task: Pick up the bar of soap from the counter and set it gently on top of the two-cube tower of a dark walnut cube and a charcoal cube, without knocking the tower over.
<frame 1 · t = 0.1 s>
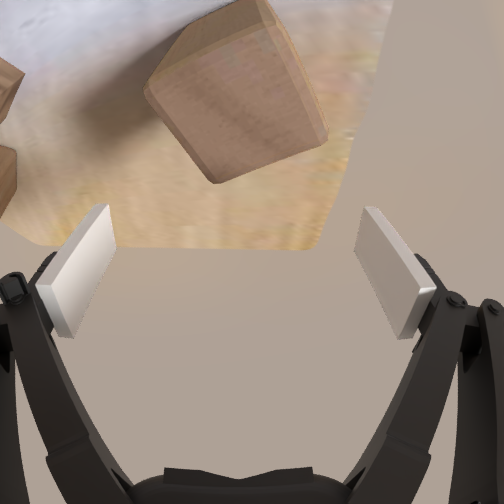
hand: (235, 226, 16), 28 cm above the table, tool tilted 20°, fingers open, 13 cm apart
wooden block: (240, 40, 32), on the table
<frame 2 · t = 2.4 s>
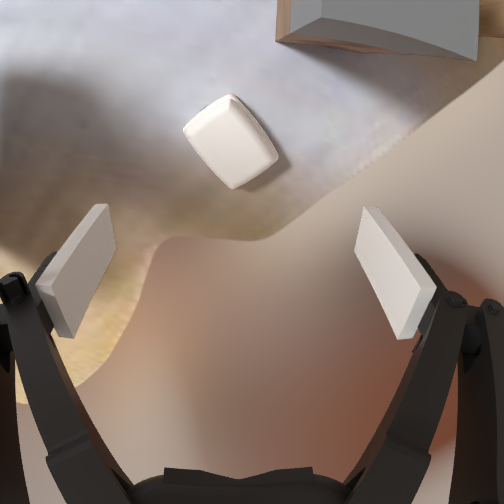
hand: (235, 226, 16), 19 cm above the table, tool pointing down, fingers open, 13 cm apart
walnut base cube: (323, 6, 24), on the table, touching charcoal top cube
soap: (231, 140, 32), on the table
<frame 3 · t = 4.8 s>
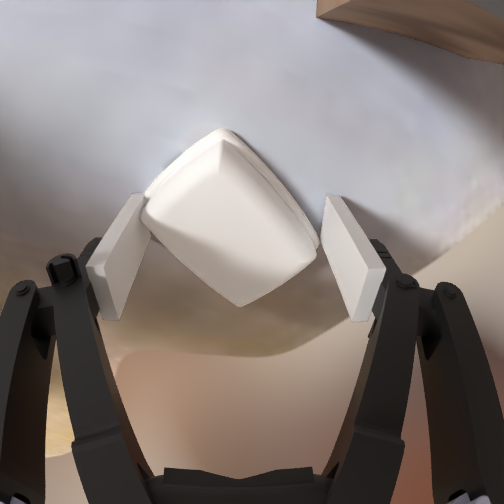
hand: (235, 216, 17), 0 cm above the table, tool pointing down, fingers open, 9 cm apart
soap: (231, 215, 18), on the table, touching gripper
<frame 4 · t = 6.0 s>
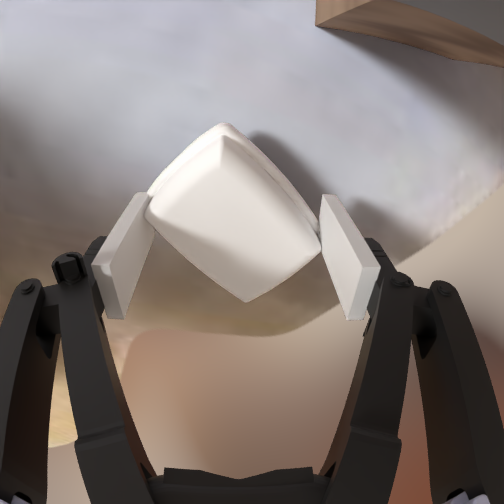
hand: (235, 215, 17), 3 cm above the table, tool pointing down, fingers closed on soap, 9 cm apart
soap: (235, 211, 18), point 2 cm above the table, touching gripper
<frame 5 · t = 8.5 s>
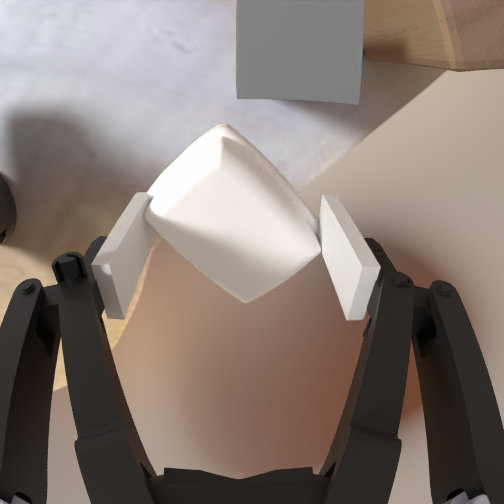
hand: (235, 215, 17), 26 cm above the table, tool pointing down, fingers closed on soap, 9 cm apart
soap: (234, 212, 18), point 25 cm above the table, touching gripper
charcoal top cube: (283, 46, 26), point 9 cm above the table, touching walnut base cube
block: (386, 22, 31), on the table
when the fingers open (20 cm above the table, at t = 11.3 s): soap drops 1 cm, resting on charcoal top cube.
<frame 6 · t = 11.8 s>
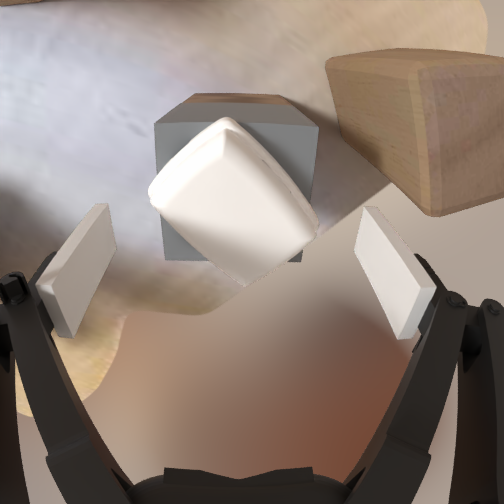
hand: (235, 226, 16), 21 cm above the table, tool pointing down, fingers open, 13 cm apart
walnut base cube: (235, 132, 34), on the table, touching charcoal top cube
soap: (235, 200, 19), point 18 cm above the table, touching charcoal top cube
charcoal top cube: (235, 154, 26), point 9 cm above the table, touching soap, walnut base cube
block: (371, 93, 31), on the table
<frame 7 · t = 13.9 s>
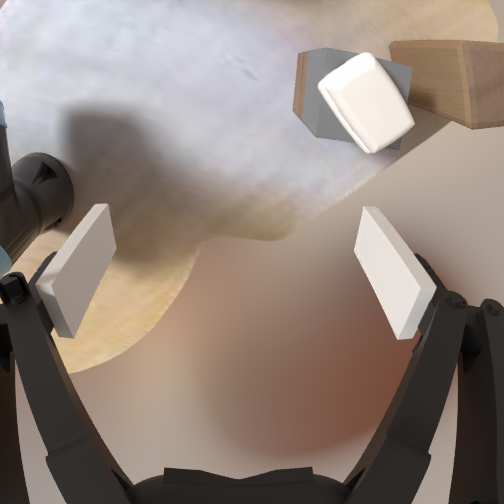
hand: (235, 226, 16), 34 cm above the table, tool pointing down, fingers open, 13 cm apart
walnut base cube: (325, 86, 42), on the table, touching charcoal top cube
soap: (366, 102, 27), point 18 cm above the table, touching charcoal top cube
charcoal top cube: (341, 91, 34), point 9 cm above the table, touching soap, walnut base cube
block: (418, 69, 40), on the table
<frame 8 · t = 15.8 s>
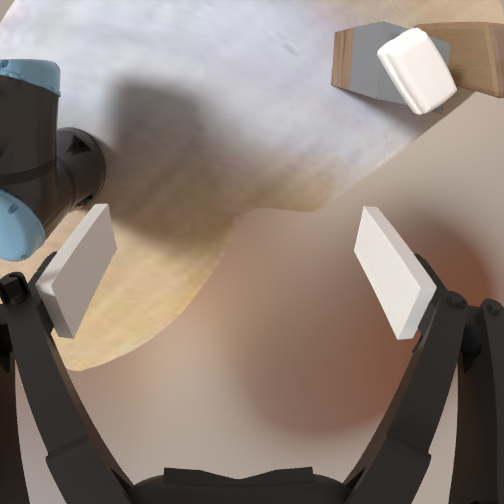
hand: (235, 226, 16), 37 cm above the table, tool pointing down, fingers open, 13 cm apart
walnut base cube: (359, 63, 42), on the table, touching charcoal top cube
soap: (415, 70, 28), point 18 cm above the table, touching charcoal top cube
charcoal top cube: (382, 64, 35), point 9 cm above the table, touching soap, walnut base cube
block: (438, 50, 40), on the table
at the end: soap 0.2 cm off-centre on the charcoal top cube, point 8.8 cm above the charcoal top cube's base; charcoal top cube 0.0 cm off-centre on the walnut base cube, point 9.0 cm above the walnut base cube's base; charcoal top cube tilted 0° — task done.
